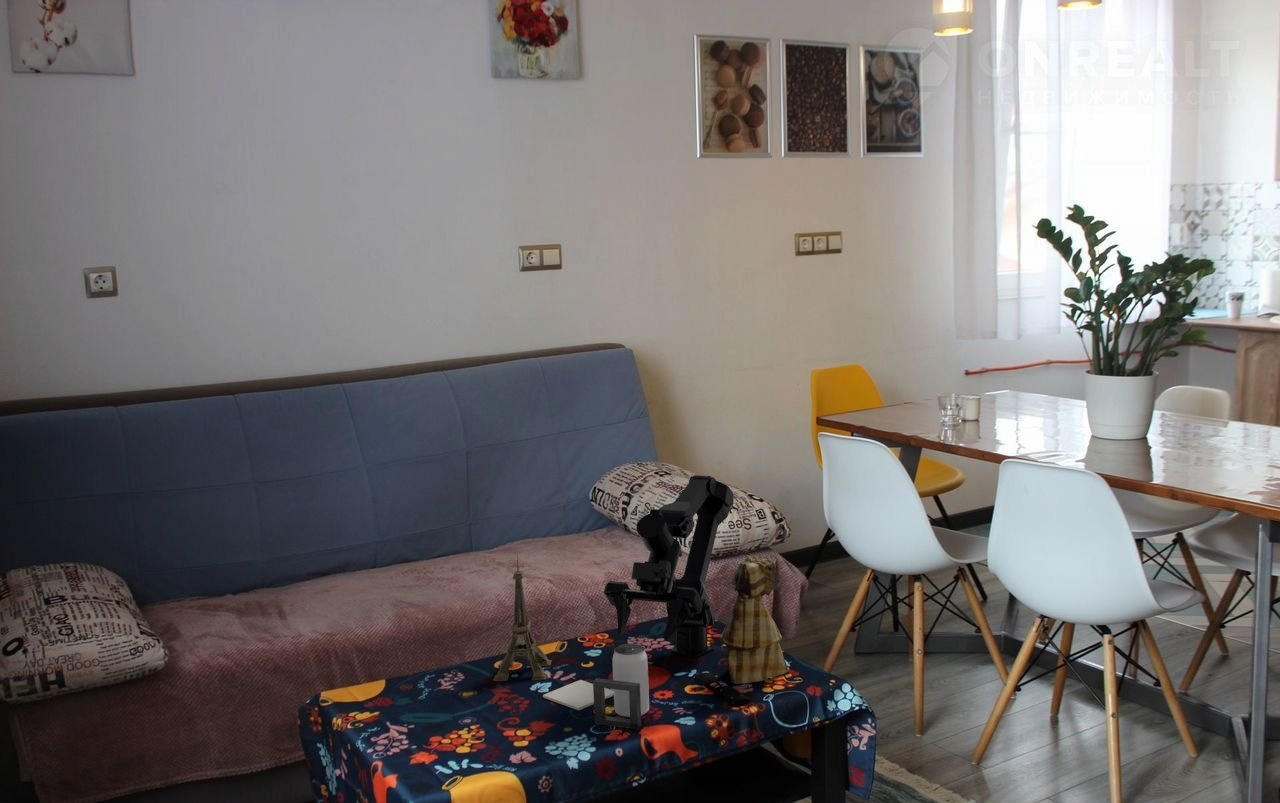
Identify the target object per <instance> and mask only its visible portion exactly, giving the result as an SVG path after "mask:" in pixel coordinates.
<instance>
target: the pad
mask: <svg viewBox="0 0 1280 803" xmlns="http://www.w3.org/2000/svg"><path fill="white" fill-rule="evenodd" d="M604 691H605V700H607V699H608V698H612V697H614V689H610V688H604ZM542 698H543V699H545V700H549V701H552V702H554V703H557V704H560V705H563V706H565V707H568V708H571V709H574V710H576V711H580V710H583V709H585V708H587V707H590V706H594V693H593V682H592V683H591V682H588V681H586V680H582V679H579V680H576V681H574V682H572V683H569V684H567V685H565V686H561V687H560V688H557V689H554V690H552V691H549V692H547V693H544V694H543V695H542Z"/></svg>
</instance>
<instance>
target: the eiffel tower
mask: <svg viewBox="0 0 1280 803" xmlns="http://www.w3.org/2000/svg"><path fill="white" fill-rule="evenodd" d="M516 558H517V560H516V562H517V563H516V564H517V566H516V571H514V572H513V576H512V579H513V580H515V581H514V582H515V584H514V604H513V605H514V606H513V608H514V609H513V623H512V625H511V626H510V631H512V635H511V640H510V643H509V645H508V647H507V648H506V650H507V652H506V654H505V656H504V657H503V660H501V661H500V664H499V669H498V671H497V673H496V674H495V675H494V678H493V679H492V681H493V682H505V681H506V682H507V681H508V679H509V676H510V673H509V671H510V668H511V667H512V668H513V666H514V665H515V660H516V659H519V658H520V659H521V658H522V659H526V660H527V661H528V662H529V664H530V666H531V671H532V676H531V680H532V681H546V680H547V678H548V673H546V671H544V668H542V667H551V665H552V661H553V660H550V659H549V658H548V657H547V655H546V654H545V653H544V652H543V650H542V649H541V648H540V647H539V646H538V645H537V644H536V643H537V639H535V638H534V637H533V634H532V632H531V625H532V623H531V620H528V615H527V607H526V598H525V593H524V586H523V579H524V577H525V574H524V571H523V570H520V569H519V559H518V558H519V557H518V554H516ZM521 635H522V636H523V639H524V640H519V641H518V637H519V636H521Z"/></svg>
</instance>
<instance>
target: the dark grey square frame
mask: <svg viewBox="0 0 1280 803" xmlns="http://www.w3.org/2000/svg"><path fill="white" fill-rule="evenodd" d="M592 684H593V693H594V704H593V712H594V724H595V725H602V726H609V727H616V728H617V727H618V728H624V729H625V728H626V729H632V730H639V729H640V728H642V716H641V702H640V683H632V682H624V681H616V680H613V679H605V678H599V677H597V678H595V679H594V680H593V681H592ZM604 688H607V689H610V690H614V689H618V690H626V691H629V704H630V717H629V719H628V718H625V717H617V716H616V717H614V716H607V715H606V699H605V691H604Z"/></svg>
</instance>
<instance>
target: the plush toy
mask: <svg viewBox="0 0 1280 803" xmlns="http://www.w3.org/2000/svg"><path fill="white" fill-rule="evenodd" d="M738 564H739V565H738V566H737V568H736V570H735V572H734V575H733V578H732V580H731V581H729V582H728V583H727V585H733V586H734V587H733V590H734V592H737V594H738V595H737V596H736V600H735V602H734V603H733V607H732V609H731V612H730V615H729V617H728V620H727V623H726V624H725V626H724V628H723V631H722V633H721V634H720V636H719V639H720V641H721V642H722V643H723V644H724V645H725V646H726V647H727V649H728V650H727V655H726V656H727V658H726V666H727V669H728V672H729V676H730V683H731V684H734V685H737V684H741V685H743V684H748V683H754V682H755V683H756V682H763V681H766V680H769V679H768V678H770V679H772V678H771V677H773V678H775V677H777V676H781V675H783V674H787V673H788V672H790V667H788V665H787V662H786V659H785V658H784V654H783V652H782V648H781V645H780V641H781V640H783V635H781V632H780V631H779V628H778V626H777V624H776V622H775V621H774V619H773V617H772V616H771V614H770V613H769V611H768V610H767V609H766V606H765V605H764V602H763V600H762V597H763V596H765V595H767V596H768V597H770V595H771V593H772V591H777V592H778V591H779V587H780V586H781V582H782V581H781V579H780V578H781V577H782V575H781V574H780V575H779V572H777V571H776V569H777V567H776V563H774V562H773V561H772V560H771V559H768V558H764V557H762V555H759V556H757V555H746V558H745V559H744V560H742V561H740V563H738Z"/></svg>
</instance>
